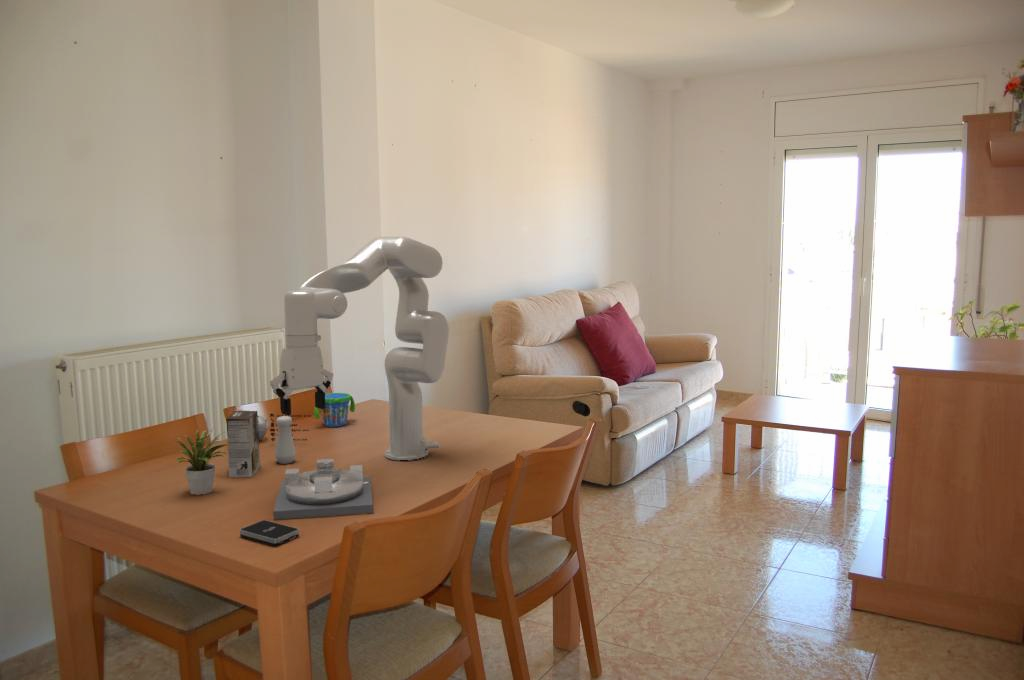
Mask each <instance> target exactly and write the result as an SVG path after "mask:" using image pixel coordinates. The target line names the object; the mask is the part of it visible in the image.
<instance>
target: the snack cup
mask: <svg viewBox="0 0 1024 680" xmlns="http://www.w3.org/2000/svg"><path fill="white" fill-rule="evenodd" d="M349 404H350V405H349ZM355 404H356V403H355V399H354V397H353V396H351V394H349V393H347V392H346V393H345V392H329V393H328V392H326V393H325V409H320V408H316V407H315V406H314V409H313V416H314V418H315V419H317V420H319V419H320V418H321V417H320V411H321V416H322V421H323V422H322V423H323V424H324V426H325V427H329V428H336V427H337V428H338V427H342V426H346V425H347V423H348V416H349V411H350V412H351V413H354V412H355V410H356V405H355Z"/></svg>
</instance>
